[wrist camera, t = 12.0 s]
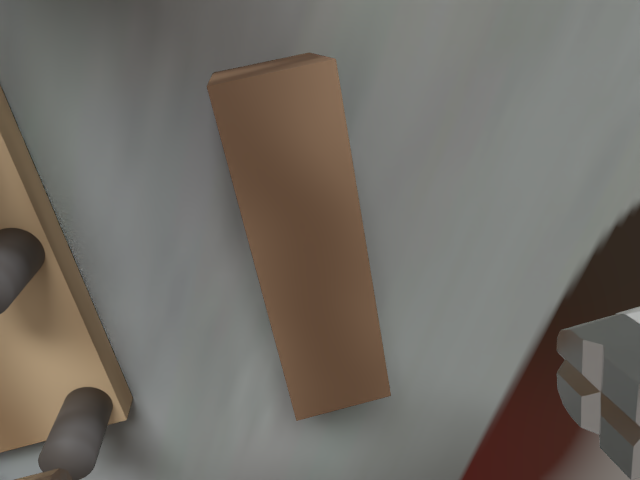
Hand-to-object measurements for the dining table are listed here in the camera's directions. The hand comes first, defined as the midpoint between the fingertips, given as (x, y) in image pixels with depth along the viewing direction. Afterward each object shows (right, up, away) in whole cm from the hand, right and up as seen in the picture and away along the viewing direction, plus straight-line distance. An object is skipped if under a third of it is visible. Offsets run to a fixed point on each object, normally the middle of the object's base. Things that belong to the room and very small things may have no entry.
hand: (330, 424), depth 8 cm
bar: (-1, +4, +9) cm, 10 cm away
